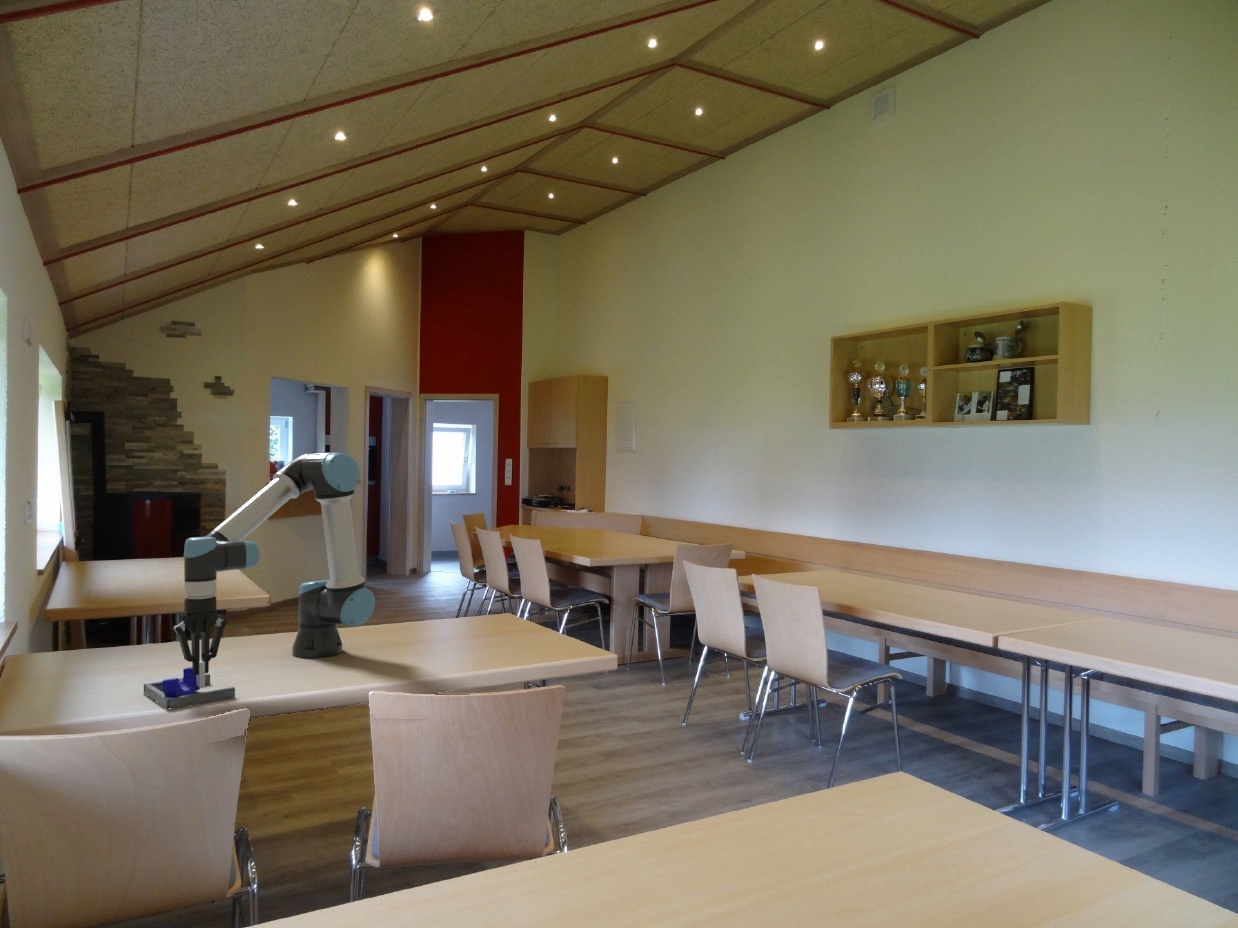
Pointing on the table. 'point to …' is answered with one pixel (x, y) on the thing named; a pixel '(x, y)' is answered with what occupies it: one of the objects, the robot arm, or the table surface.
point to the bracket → (155, 693)
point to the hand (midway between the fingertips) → (200, 686)
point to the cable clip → (181, 684)
